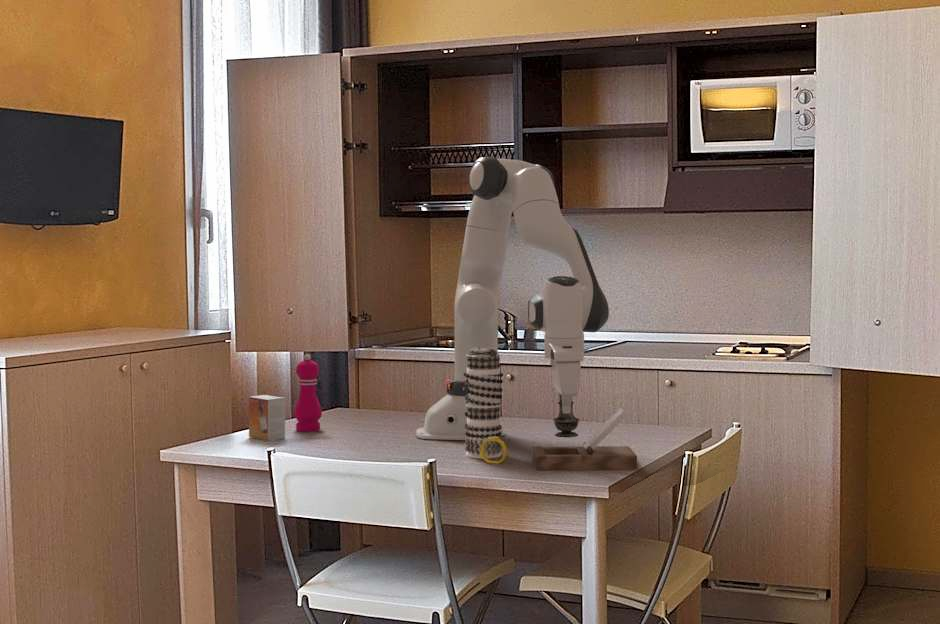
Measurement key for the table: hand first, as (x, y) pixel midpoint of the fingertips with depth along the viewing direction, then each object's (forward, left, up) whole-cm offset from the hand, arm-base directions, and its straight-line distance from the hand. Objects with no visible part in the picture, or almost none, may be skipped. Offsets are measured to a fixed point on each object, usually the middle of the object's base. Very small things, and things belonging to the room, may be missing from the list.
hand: (565, 411), depth 269 cm
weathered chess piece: (0, 0, -6) cm, 6 cm away
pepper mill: (-63, +49, -12) cm, 80 cm away
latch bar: (+9, 0, -5) cm, 10 cm away
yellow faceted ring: (-16, +3, -12) cm, 20 cm away
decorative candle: (-18, +12, -12) cm, 25 cm away
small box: (-72, +37, -12) cm, 82 cm away
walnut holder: (+4, 0, -12) cm, 13 cm away
